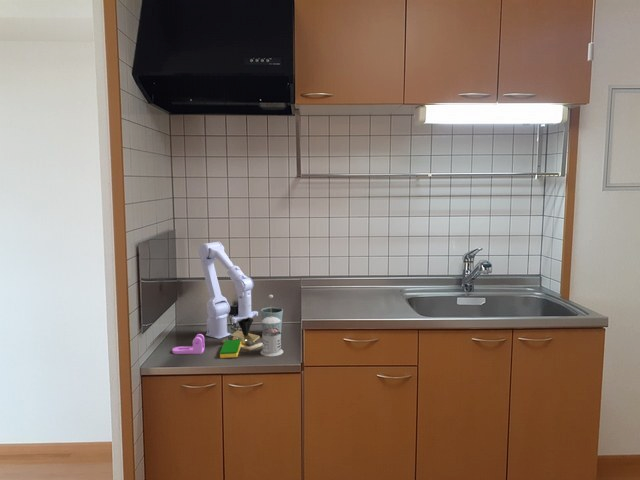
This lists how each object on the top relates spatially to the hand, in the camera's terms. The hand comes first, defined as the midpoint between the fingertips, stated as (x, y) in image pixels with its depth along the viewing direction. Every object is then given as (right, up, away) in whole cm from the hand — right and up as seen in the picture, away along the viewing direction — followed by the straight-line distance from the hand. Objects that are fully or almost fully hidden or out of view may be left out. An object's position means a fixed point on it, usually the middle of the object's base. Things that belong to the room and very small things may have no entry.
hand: (245, 334), depth 220 cm
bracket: (-23, -6, -10) cm, 26 cm away
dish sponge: (-4, -5, -12) cm, 14 cm away
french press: (+13, -5, -11) cm, 17 cm away
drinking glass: (+11, -2, +12) cm, 16 cm away
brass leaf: (-1, -2, -1) cm, 2 cm away
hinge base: (-1, -4, -1) cm, 4 cm away
